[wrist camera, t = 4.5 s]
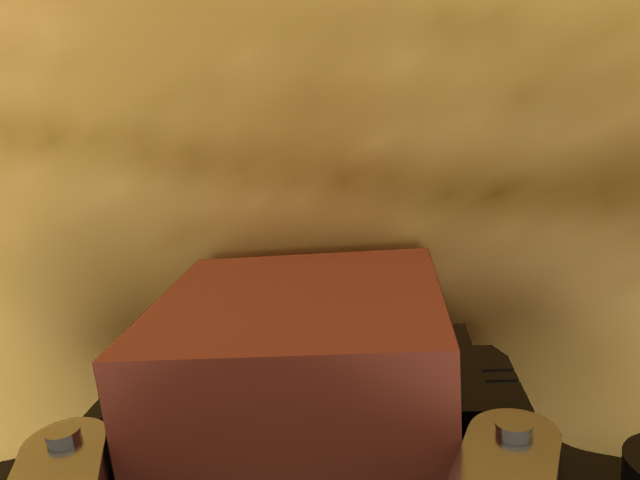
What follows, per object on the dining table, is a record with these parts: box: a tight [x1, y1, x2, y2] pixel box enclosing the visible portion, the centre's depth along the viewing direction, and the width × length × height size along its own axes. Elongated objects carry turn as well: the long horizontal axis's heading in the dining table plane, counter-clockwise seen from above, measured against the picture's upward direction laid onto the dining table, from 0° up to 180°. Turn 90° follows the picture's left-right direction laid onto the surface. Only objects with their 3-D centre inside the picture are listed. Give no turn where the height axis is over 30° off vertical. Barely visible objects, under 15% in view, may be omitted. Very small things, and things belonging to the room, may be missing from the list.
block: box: [92, 248, 462, 480], centre depth 11 cm, size 5×5×5 cm
